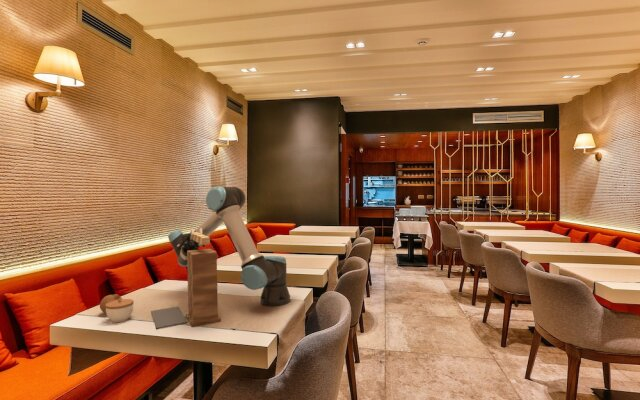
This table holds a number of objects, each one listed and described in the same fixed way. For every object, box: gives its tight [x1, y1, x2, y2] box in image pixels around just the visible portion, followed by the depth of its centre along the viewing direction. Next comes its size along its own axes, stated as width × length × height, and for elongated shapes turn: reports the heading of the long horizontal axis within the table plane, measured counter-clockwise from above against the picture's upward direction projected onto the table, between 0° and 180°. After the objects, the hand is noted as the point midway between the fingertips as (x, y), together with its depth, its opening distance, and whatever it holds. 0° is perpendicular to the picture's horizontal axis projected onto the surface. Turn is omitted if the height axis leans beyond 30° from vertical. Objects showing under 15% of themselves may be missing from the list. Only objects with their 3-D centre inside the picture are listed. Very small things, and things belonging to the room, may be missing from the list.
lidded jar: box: [105, 298, 135, 323], centre depth 148 cm, size 11×11×9 cm
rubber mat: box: [150, 305, 189, 330], centre depth 150 cm, size 24×12×1 cm, turn 32°
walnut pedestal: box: [185, 248, 222, 328], centre depth 147 cm, size 14×12×30 cm
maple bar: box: [192, 232, 211, 246], centre depth 150 cm, size 26×3×3 cm, turn 32°
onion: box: [99, 293, 123, 315], centre depth 156 cm, size 10×9×10 cm
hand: (197, 231), depth 154 cm, fingers closed on maple bar, 3 cm apart
